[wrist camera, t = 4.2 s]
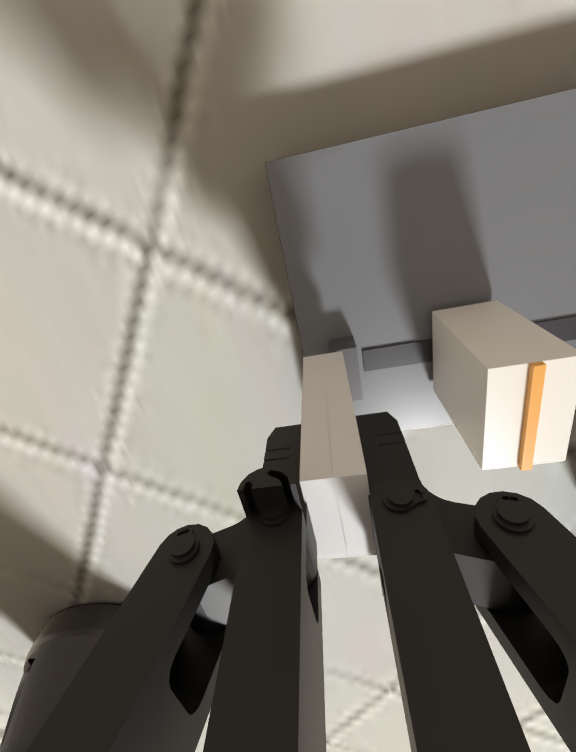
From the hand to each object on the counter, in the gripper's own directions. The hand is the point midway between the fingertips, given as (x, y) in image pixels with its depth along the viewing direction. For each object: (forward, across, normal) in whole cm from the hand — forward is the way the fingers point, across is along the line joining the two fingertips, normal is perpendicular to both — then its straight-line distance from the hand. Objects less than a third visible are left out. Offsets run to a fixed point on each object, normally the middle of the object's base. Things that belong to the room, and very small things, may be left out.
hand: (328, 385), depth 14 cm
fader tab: (+1, +6, 0) cm, 6 cm away
